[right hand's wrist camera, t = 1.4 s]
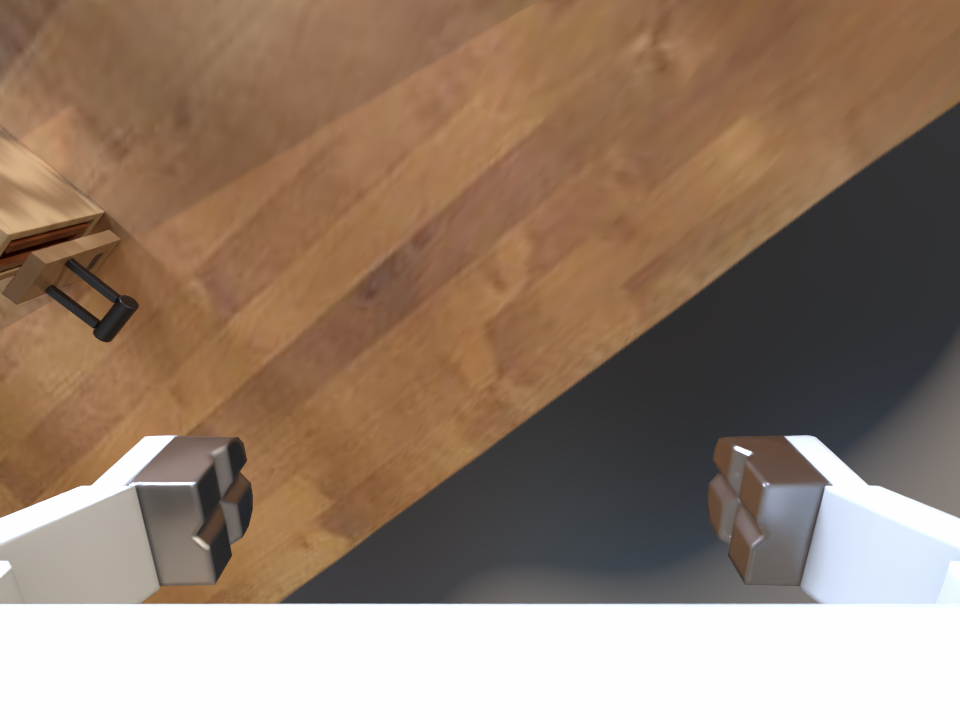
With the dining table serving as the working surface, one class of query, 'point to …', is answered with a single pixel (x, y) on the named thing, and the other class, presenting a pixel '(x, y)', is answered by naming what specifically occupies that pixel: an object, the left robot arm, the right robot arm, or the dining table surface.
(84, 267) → the drawer
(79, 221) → the tall slotted tan box
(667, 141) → the dining table surface
